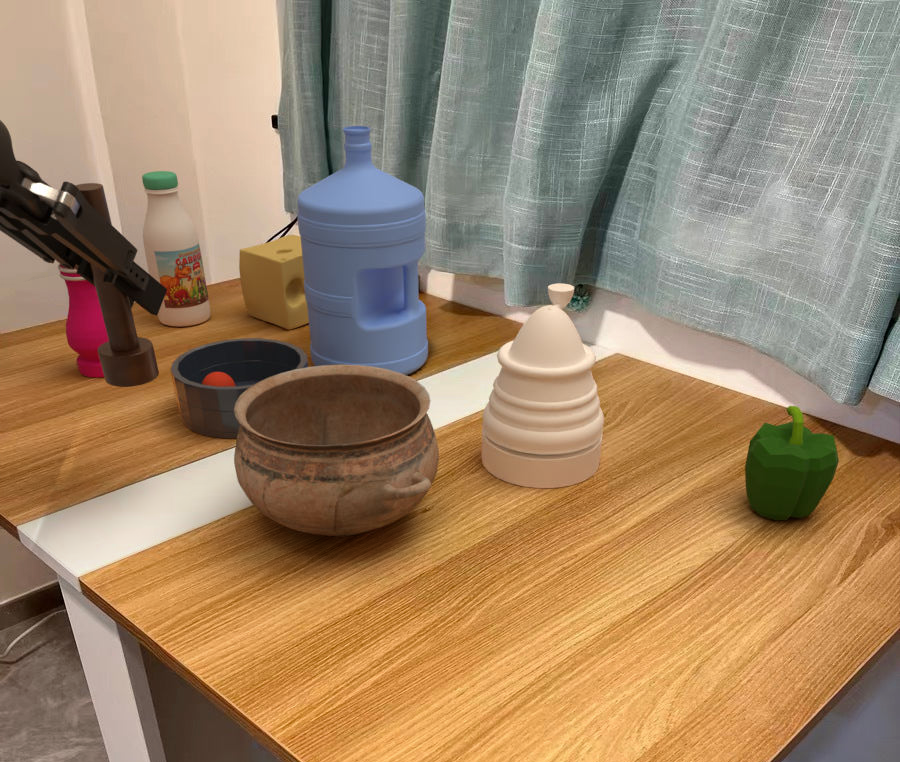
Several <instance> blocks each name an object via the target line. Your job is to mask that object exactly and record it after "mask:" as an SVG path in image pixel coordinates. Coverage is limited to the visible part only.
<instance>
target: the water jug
mask: <svg viewBox="0 0 900 762" xmlns="http://www.w3.org/2000/svg"><path fill="white" fill-rule="evenodd" d="M371 131H372V129H371V127H370V126H365V125H351V126H345V127H342V132H343V133H344V144H343V149H344V152H345V153H344V154H345V163H344V164H343V165H344V166H343V167H342V168H340V169H338V170H337V171H335V172H333V173H332V174H330V175H328V176H327V177H325V178H323V179H321V180H319V181H318V182H316V183H315V184H312V185H311V186H309V187H306V189H304V190H302V191H301V192H300V193H299V194H298V196H297V199H296V205H297V213H296V216H297V218H296V219H297V227H298V233H299V236H300V237H301V247H302V257H303V267H304V278H305V280H304V290H305V298H306V302H307V308H308V319H309V323H308V326H309V327H308V328H309V335H310V337H309V339H310V344H309V350H310V359H311V362H312V364H313V366H323V365H362V366H372V367H377V368H383V369H388V370H391V371H395V372H398V373H401V374H404V375H406V376H408V375H411V374H412V373H415V372H416V371H418V370H419V369H420V368H421V367H423V366H424V364H425V363H426V362H427V360H428V356H429V341H428V337H427V336H428V334H427V329H428V328H427V307H426V305H425V303H424V302H423V301H422V300H421V299H419V298H420V297H419V296H420V295H419V294H420V292H419V261H420V259H422V257H423V256H424V254H425V252H426V230H427V229H426V227H427V218H426V217H427V213H426V208H425V196H424V194H423V192H422V191H421V190H420V189H419V188H418V187H416V186H413V185H412V184H409V183H408V182H406V181H403V180H401V179H399V178H397V177H395V176H393V175H391V174H390V173H387V172H385V171H383V170H381V169H379V168H377V167H376V166H375V165H374V163H373V160H372V147H373V146H372V142H371V139H370V137H371V136H370V133H371Z"/></svg>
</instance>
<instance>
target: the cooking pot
mask: <svg viewBox="0 0 900 762" xmlns="http://www.w3.org/2000/svg"><path fill="white" fill-rule="evenodd" d="M430 405H431V397H430V393H429V392H428V390H427V389H426V388H425V386H424V385H423V384H421V383H420V382H419V381H418V380H416V379H414V378H412V377H410V376H408V375H404V374H401V373H398V372H395V371H391V370H388V369H383V368H377V367H372V366H362V365H323V366H315V365H313V366H308V367H307V368H301V369H296V370H291V371H288V372H284V373H280V374H277V375H274V376H271V377H269V378H266V379H264V380H262V381H260V382H258V383H256V384H254V385H253V386H251V387H250V388H248V389H247V390H246V391H245V392H244V393H242V394H241V395H240V397H239V398H238V400H237V401H236V403H235V408H234V412H235V417H236V419H237V420H238V422H239V423H240V427H239V430H238V436H237V439H236V442H235V448H234V455H233V464H234V469H235V473H236V480H237V482H238V484H239V486H240V487H241V489H242V491H243V492H244V494H245V496H246V498H247V499H248V500H249V502H250V503H251V504H252V505H253V506H254V507H255V508H256V509H257V510H258V511H259V512H260V513H262V514H263V515H264V516H266V517H267V518H269V519H270V520H272V521H274V522H275V523H277V524H279V525H281V526H283V527H286V528H289V529H292V530H294V531H298V532H303V533H306V534H311V535H317V536H318V535H319V536H326V537H327V536H328V537H341V538H342V537H351V536H356V535H359V534H363V533H367V532H371V531H374V530H377V529H379V528H383V527H386V526H388V525H389V524H392V523H393V522H395V521H398V520H399V519H401V518H403V517H404V516H406V515H407V514H408V513H410V512H411V511H412V510H414V509H415V508H416V507H417V506H418V505H419V504H420V503H421V501H422V500H423V499H424V498H425V497H426V495H427V494H428V492H429V490H430V489H431V488H432V485H433V482H434V481H435V479H436V475H437V474H438V467H439V461H440V451H439V445H438V440H437V439H438V438H437V435H436V433H435V429H434V427H433V424H432V421H431V419H430V416H429V414H428V412H429V409H430Z"/></svg>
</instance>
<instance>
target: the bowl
mask: <svg viewBox="0 0 900 762" xmlns="http://www.w3.org/2000/svg"><path fill="white" fill-rule="evenodd" d="M307 367H309V361H308V355H307V353H306V352H305V351H304V350H303V349H302V348H301V347H298V346H297V345H295V344H293V343H290V342H287V341H283V340H278V339H271V338H261V337H249V338H248V337H244V338H243V337H241V338H231V339H224V340H219V341H213V342H209V343H206V344H203V345H198V346H196V347H194V348H191V349H190V348H189V350H187V351H185V352H183V353H182V354H179V355H178V356H177V357H176V358H175V359H174V361H172V363H171V366H170V373H171V375H170V376H171V380H172V386H173V390H174V395H175V401H176V405H177V410H178V411H177V412H178V414H179V416H180V420H181V423H182V424H183V425H184V426H185V428H187V429H189V430H190V431H192V432H194V433H196V434H200V435H202V436H206V437H210V438H216V439H230V440H231V439H232V440H233V439H234V440H237V436H238V430H239V427H240V423H239V422H238V420H237V419H236V417H235V412H234V408H235V403H236V401H237V400H238V398H239V397H240V395H241V394H242V393H244V392H245V391H246V390H247V389H248V388H250V387H251V386H253V385H254V384H256V383H258V382H260V381H262V380H264V379H266V378H269V377H271V376H274V375H277V374H280V373H284V372H288V371H291V370H296V369H301V368H307ZM212 372H223V373H226V374H227V375H229V376H230V377H231V378H232V379H233V381H234V383H235V386H229V387H218V386H210V385H202V382H203V380H204V378H205V377H206V376H207V375H208V374H210V373H212Z"/></svg>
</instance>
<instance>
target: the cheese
mask: <svg viewBox="0 0 900 762" xmlns="http://www.w3.org/2000/svg"><path fill="white" fill-rule="evenodd" d="M238 261H239V262H238V263H239V264H238V268H239V270H238V271H239V278H240V285H241V291H242V297H243V301H244V305H245V308H246V311H247V314H248V315H249V316H250V317H253V318H255V319H258V320H260V321H263V322H267V323H269V324H272V325H275V326H277V327H280V328H283V329H286V330H287V331H291V330H293V329H296V328H299V327H302V326H306V325H307V324H309V319H308V308H307V302H306V298H305V290H304V280H305V278H304V267H303V257H302V247H301V236H300V235H296V234H287V235H285V236H282V237H279V238H277V239H274V240H271V241H268V242H264V243H261V244H257V245H253V246H248V247H244V248H240V249H239V260H238Z"/></svg>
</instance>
